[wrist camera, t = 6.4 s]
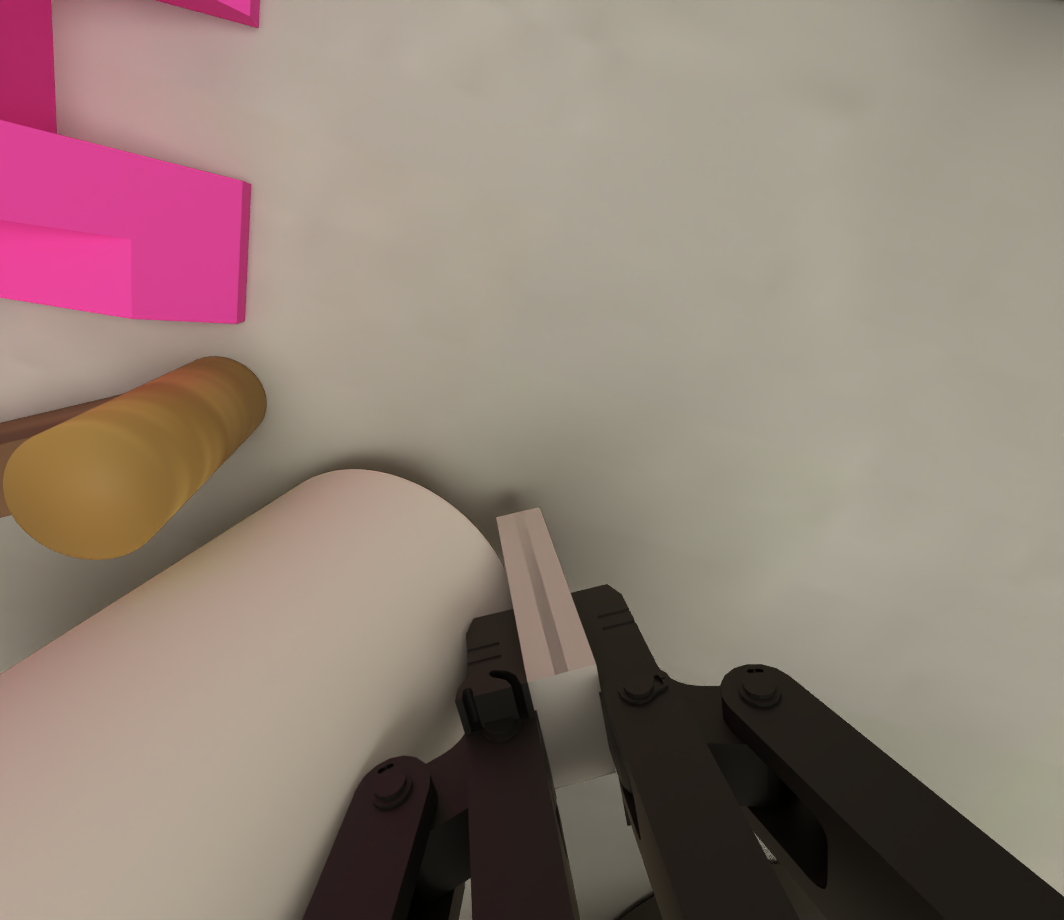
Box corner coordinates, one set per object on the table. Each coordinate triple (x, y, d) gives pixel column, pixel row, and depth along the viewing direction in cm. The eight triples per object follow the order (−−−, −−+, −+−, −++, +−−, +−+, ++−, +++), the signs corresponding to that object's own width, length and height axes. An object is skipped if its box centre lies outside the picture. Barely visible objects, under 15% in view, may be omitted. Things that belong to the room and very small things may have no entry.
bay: (409, 768, 22) (403, 988, 15) (37, 881, 21) (-143, 1170, 14) (247, 347, 16) (126, 412, 10) (-280, 469, 15) (-823, 637, 8)
